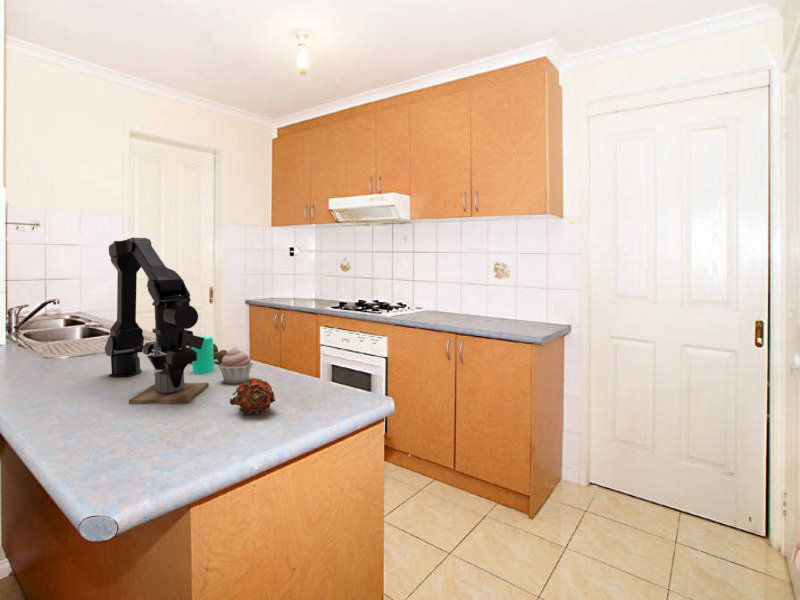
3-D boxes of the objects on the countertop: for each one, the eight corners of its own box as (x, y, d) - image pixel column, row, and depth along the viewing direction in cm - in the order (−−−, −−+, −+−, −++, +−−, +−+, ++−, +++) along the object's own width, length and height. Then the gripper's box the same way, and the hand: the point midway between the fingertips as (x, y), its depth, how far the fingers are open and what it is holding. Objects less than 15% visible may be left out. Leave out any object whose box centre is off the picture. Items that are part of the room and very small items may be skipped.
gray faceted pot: (178, 392, 115) (177, 373, 114) (149, 392, 114) (148, 373, 114) (187, 384, 121) (187, 366, 121) (161, 385, 121) (160, 366, 120)
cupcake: (260, 380, 131) (259, 346, 130) (230, 387, 124) (229, 351, 123) (242, 374, 137) (241, 341, 136) (212, 381, 130) (211, 346, 129)
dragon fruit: (266, 427, 101) (239, 421, 109) (291, 397, 106) (263, 393, 114) (242, 401, 97) (216, 397, 105) (268, 371, 102) (241, 369, 110)
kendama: (222, 370, 145) (176, 362, 153) (243, 364, 154) (199, 356, 162) (222, 351, 144) (176, 344, 152) (244, 346, 153) (199, 340, 161)
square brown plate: (128, 403, 111) (128, 387, 110) (155, 387, 125) (155, 372, 124) (188, 403, 112) (188, 386, 111) (208, 386, 125) (208, 371, 125)
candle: (206, 374, 137) (204, 335, 136) (188, 373, 139) (186, 334, 137) (218, 369, 143) (216, 331, 142) (200, 368, 144) (199, 330, 143)
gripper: (216, 325, 116) (218, 385, 118) (183, 317, 128) (186, 372, 130) (171, 330, 108) (174, 395, 109) (140, 321, 120) (143, 380, 122)
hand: (170, 384), depth 118 cm, fingers closed on gray faceted pot, 7 cm apart
